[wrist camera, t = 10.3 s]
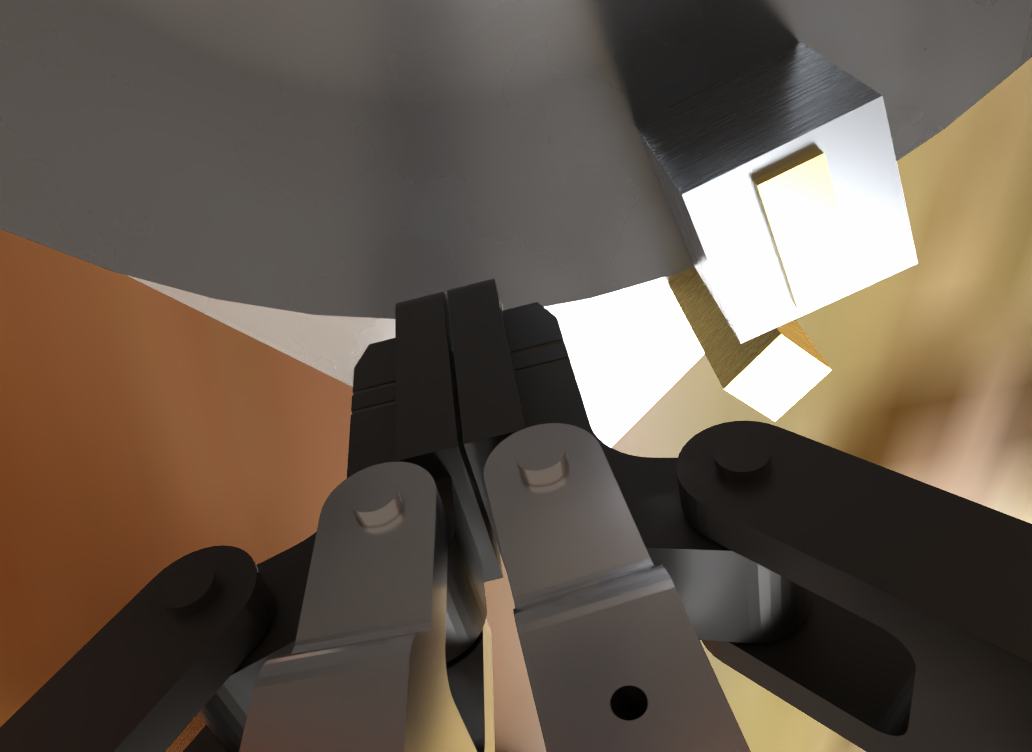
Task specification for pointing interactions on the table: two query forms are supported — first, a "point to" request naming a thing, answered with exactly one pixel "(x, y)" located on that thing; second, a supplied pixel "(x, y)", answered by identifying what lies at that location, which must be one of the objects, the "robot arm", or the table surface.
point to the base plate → (582, 347)
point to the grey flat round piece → (486, 143)
